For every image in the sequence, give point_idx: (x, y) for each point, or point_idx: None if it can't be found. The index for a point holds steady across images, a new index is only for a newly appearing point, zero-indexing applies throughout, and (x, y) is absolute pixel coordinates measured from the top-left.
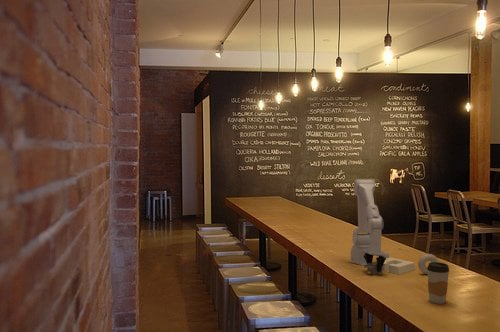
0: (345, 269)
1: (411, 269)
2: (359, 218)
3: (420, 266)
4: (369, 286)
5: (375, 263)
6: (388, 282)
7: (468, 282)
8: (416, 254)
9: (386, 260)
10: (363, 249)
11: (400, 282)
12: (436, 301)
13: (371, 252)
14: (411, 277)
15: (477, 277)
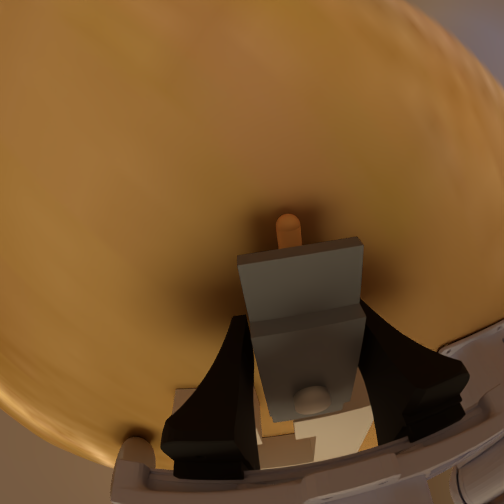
0: (496, 192)
1: None
2: None
3: (128, 459)
4: (15, 7)
5: (299, 379)
6: (21, 206)
7: (38, 422)
8: None
9: (338, 445)
10: (499, 433)
11: (16, 277)
12: None
13: (346, 496)
14: (104, 387)
15: (85, 455)
